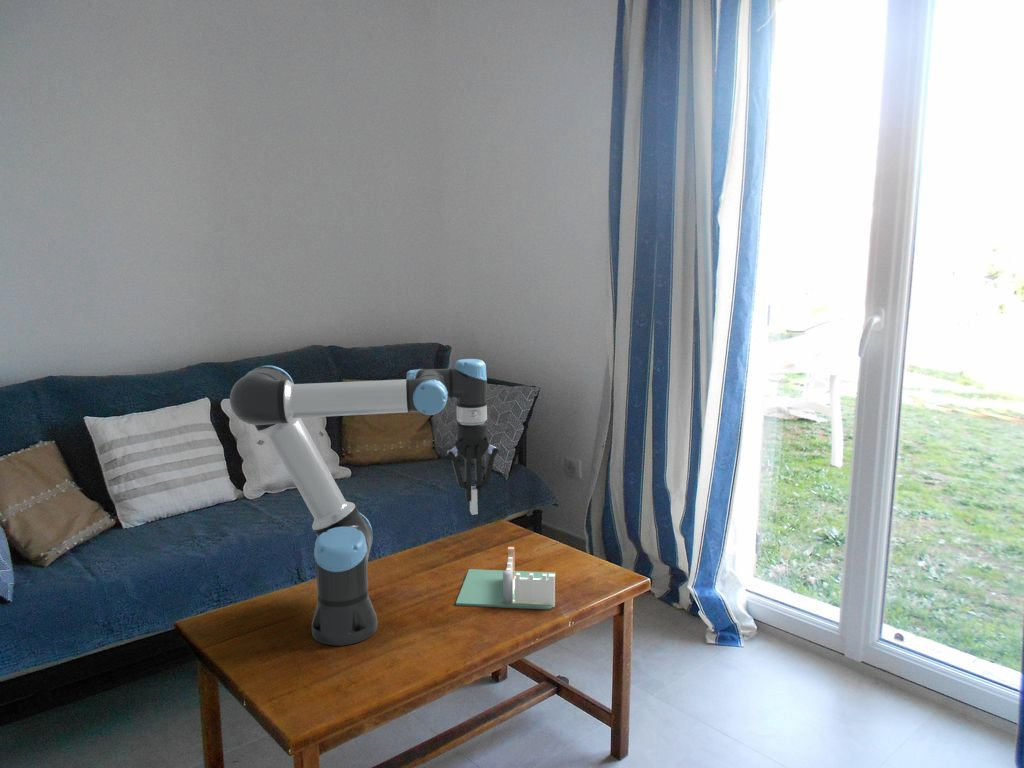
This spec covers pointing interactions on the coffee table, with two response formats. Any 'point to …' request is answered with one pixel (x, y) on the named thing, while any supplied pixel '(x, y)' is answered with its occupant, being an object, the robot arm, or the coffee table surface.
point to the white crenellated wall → (511, 560)
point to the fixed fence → (529, 588)
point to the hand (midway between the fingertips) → (473, 512)
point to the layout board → (494, 590)
